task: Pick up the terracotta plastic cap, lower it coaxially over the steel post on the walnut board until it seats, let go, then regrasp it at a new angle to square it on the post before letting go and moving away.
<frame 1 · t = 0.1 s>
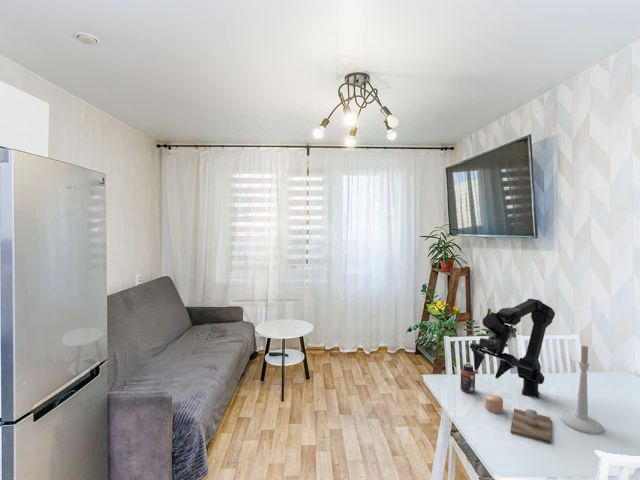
hand: (485, 373, 142), 15 cm above the table, tool tilted 30°, fingers open, 9 cm apart
cap: (493, 409, 144), on the table
supplement bottle: (467, 390, 160), on the table
post board: (530, 426, 132), on the table
candlestick: (581, 424, 133), on the table
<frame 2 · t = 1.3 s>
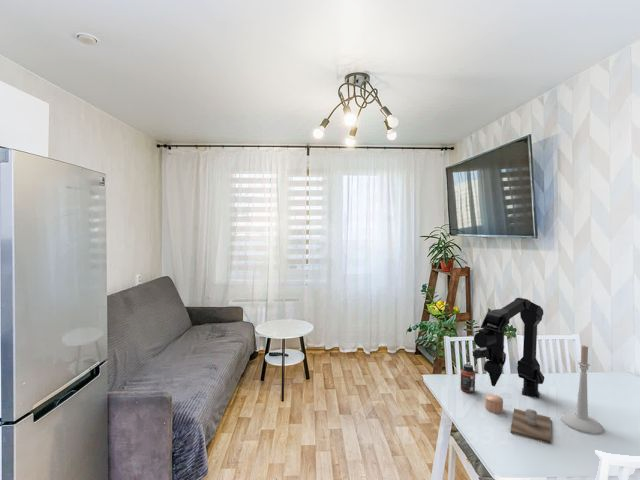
hand: (494, 381, 143), 11 cm above the table, tool pointing down, fingers open, 9 cm apart
nothing on the table moved.
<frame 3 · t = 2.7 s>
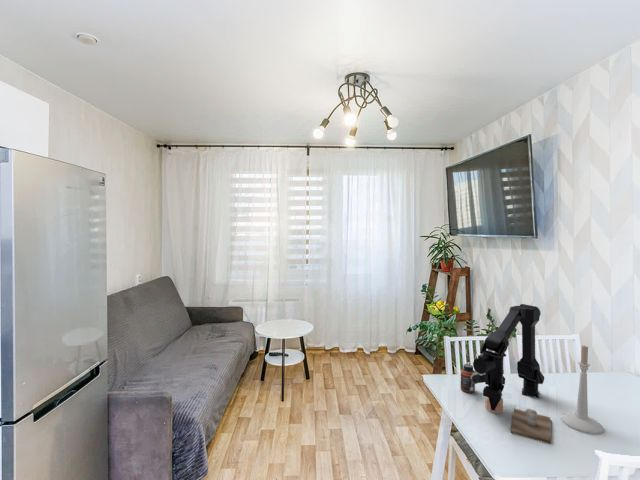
hand: (493, 406, 144), 1 cm above the table, tool pointing down, fingers closed on cap, 6 cm apart
cap: (493, 409, 144), on the table, touching gripper
everything else where it was.
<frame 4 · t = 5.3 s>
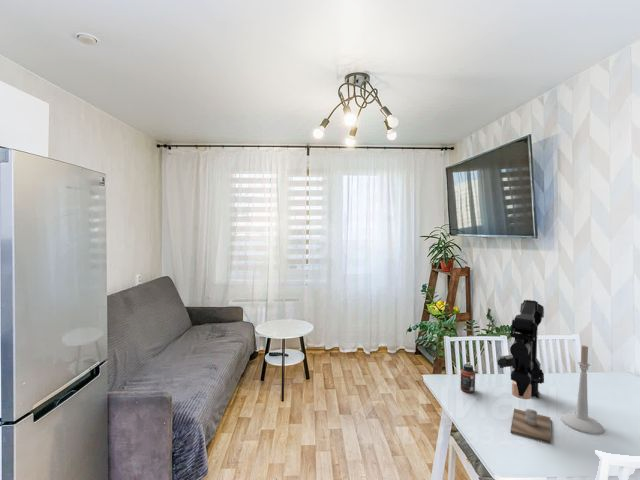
hand: (521, 392, 134), 11 cm above the table, tool pointing down, fingers closed on cap, 6 cm apart
cap: (521, 395, 134), point 10 cm above the table, touching gripper
everything else where it was.
when the fingers open (3 cm above the table, at t = 7.9 s): cap stays where it is, resting on post board.
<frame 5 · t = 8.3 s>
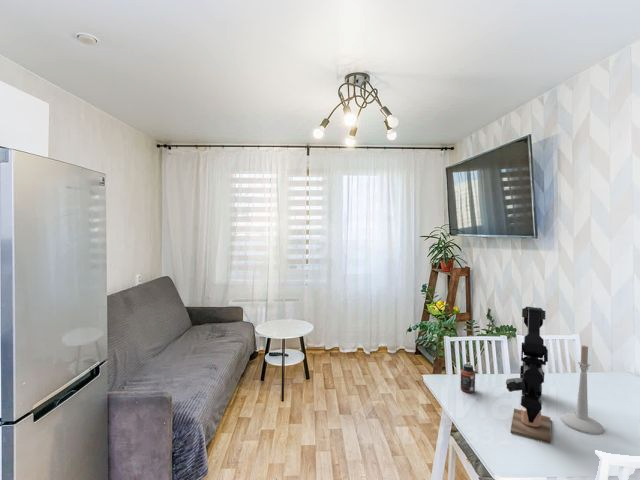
hand: (531, 416, 132), 3 cm above the table, tool pointing down, fingers open, 9 cm apart
cap: (530, 421, 132), point 2 cm above the table, touching post board
everything else where it was.
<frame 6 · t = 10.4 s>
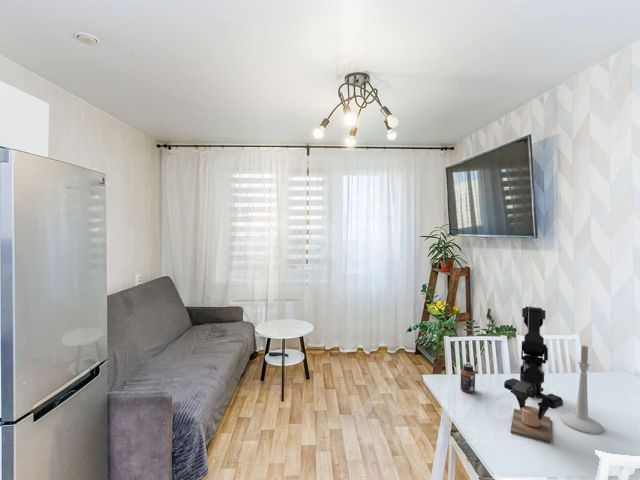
hand: (531, 415, 132), 4 cm above the table, tool pointing down, fingers closed on cap, 6 cm apart
cap: (531, 422, 132), point 2 cm above the table, touching gripper, post board
everything else where it was.
when the fingers open (4 cm above the table, at t = 11.8 s): cap stays where it is, resting on post board.
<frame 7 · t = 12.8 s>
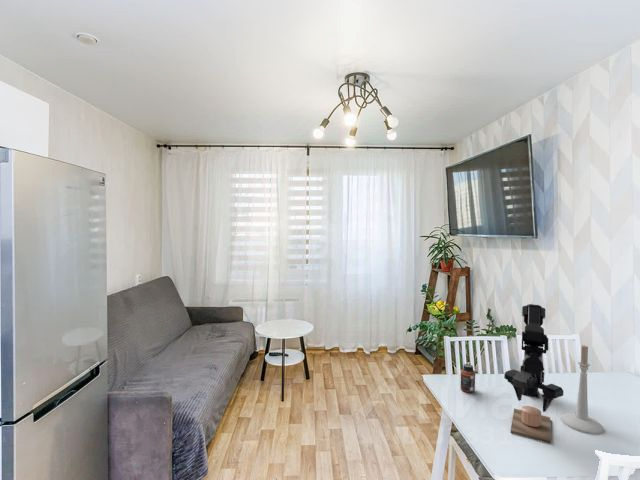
hand: (531, 405, 131), 8 cm above the table, tool pointing down, fingers open, 9 cm apart
cap: (531, 422, 132), point 1 cm above the table, touching post board
everything else where it was.
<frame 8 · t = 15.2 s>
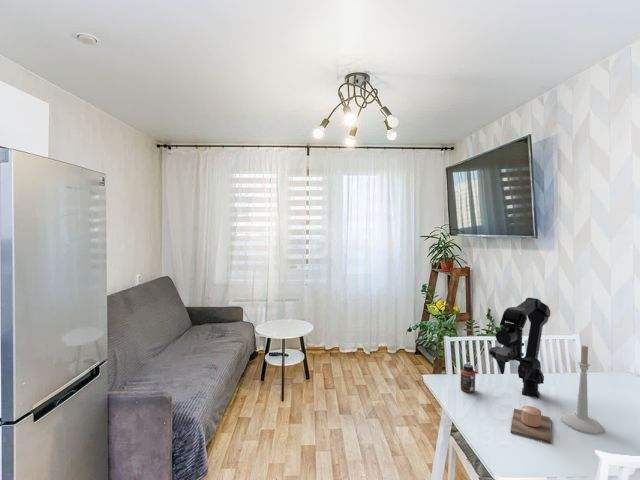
hand: (512, 378, 145), 12 cm above the table, tool pointing down, fingers open, 9 cm apart
nothing on the table moved.
at the end: cap 0.0 cm off-centre on the post board, point 1.5 cm above the post board's base; cap tilted 0°; the gripper is holding nothing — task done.
